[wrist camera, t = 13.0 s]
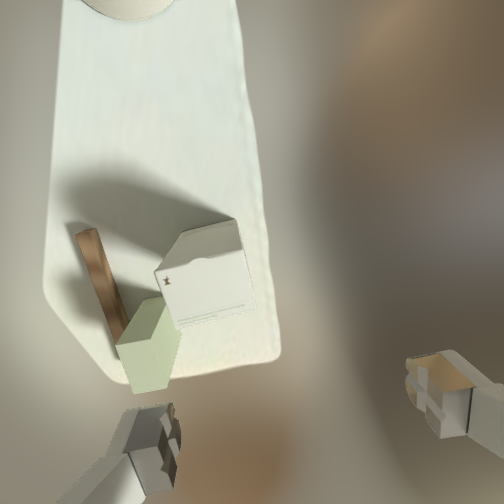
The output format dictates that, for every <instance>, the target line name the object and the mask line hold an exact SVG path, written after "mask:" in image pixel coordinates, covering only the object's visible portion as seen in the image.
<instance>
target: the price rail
mask: <svg viewBox="0 0 504 504" xmlns="http://www.w3.org/2000/svg"><path fill="white" fill-rule="evenodd" d="M75 236H76V238H77V241H78V244H79V246H80V249H81V252H82V255H83V257H84V260H85V263H86V265H87V268H88V271H89V273H90V276H91V279H92V282H93V284H94V287H95V290H96V292H97V295H98V298H99V300H100V303H101V306H102V308H103V311H104V314H105V317H106V319H107V322H108V325H109V327H110V330H111V333H112V335H113V338H114V341H115V344H116V343H117V342H118V340H119V339H120V337H121V335H122V334H123V332H124V331H125V329H126V327H127V326H128V324H129V322H128V319H127V316H126V313H125V311H124V308H123V305H122V302H121V299H120V296H119V293H118V290H117V287H116V284H115V281H114V279H113V276H112V273H111V270H110V267H109V264H108V261H107V258H106V255H105V252H104V249H103V246H102V244H101V241H100V238H99V235H98V232H97V229H91V230H85V231H83V232H80V233H78V234H76V235H75Z"/></svg>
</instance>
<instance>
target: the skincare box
mask: <svg viewBox="0 0 504 504" xmlns="http://www.w3.org/2000/svg"><path fill="white" fill-rule="evenodd" d="M154 275H155V278H156V280H157V283H158V285H159V288H160V291H161V293H162V296H163V298H164V301H165V303H166V306H167V308H168V311H169V313H170V316H171V318H172V321H173V324H174V326H175V329H176V330H179V329H183V328H186V327H190V326H194V325H198V324H202V323H206V322H210V321H214V320H218V319H222V318H226V317H230V316H234V315H238V314H242V313H246V312H250V311H254V310H256V309H257V307H256V302H255V296H254V291H253V286H252V282H251V277H250V273H249V268H248V264H247V260H246V255H245V251H244V247H243V242H242V239H241V235H240V231H239V228H238V224H237V221H236V219H233V220H228V221H224V222H220V223H216V224H212V225H208V226H204V227H200V228H196V229H192V230H188V231H184V232H181V234H180V235H179V237H178V238H177V240H176V241H175V243H174V244H173V246H172V247H171V249H170V250H169V252H168V253H167V255H166V256H165V258H164V259H163V261H162V262H161V264H160V265H159V267H158V268H157V269H156V270H155V271H154Z"/></svg>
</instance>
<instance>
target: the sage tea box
mask: <svg viewBox="0 0 504 504" xmlns="http://www.w3.org/2000/svg"><path fill="white" fill-rule="evenodd" d="M181 336H182V333H181V329H179V330H176V329H175V326H174V324H173V321H172V318H171V316H170V313H169V311H168V308H167V306H166V303H165V301H164V298H163V296H160V297H154V298H149V299H144V300H143V302H142V303H141V305H140V306H139V308H138V310H137V311H136V313H135V314H134V316H133V318H132V319H131V321H130V323H129V324H128V326H127V327H126V329H125V331H124V332H123V334H122V335H121V337H120V339H119V340H118V342H117V343H116V345H115V347H116V349H117V352H118V355H119V357H120V360H121V362H122V365H123V368H124V370H125V373H126V376H127V378H128V381H129V383H130V386H131V389H132V391H133V394H138V393H143V392H149V391H154V390H159V389H165V388H167V386H168V382H169V379H170V375H171V371H172V368H173V364H174V361H175V357H176V354H177V350H178V347H179V343H180V339H181Z"/></svg>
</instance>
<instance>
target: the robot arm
mask: <svg viewBox="0 0 504 504" xmlns="http://www.w3.org/2000/svg"><path fill="white" fill-rule="evenodd" d="M83 1H84V2H85V3H87V4H88V5H89V6H90V7H92V8H93V9H95V10H96V11H98V12H100V13H102V14H104V15H106V16H109V17H112V18H115V19H119V20H126V21H136V20H143V19H146V18H150V17H152V16H154V15H156V14H158V13H160V12H161V11H163V10H164V9H165V8H167V7H168V6H169V5H170V4H171V3H172V2H173V0H83ZM406 368H407V370H408V371H409V372H410V373H409V375H408V376H407V377H406V388H407V392H408V395H409V397H410V399H411V400H412V402H413V403H414V405H415V406H416V407H417V408H418V409H420V410H422V411H423V412H425V413H426V421H427V422H428V423H429V425H430V426H431V427H432V429H433V430H434V431H435V433H436V434H437V435H438V436H439V438H440V439H441V438H448V437H454V436H460V435H467V434H468V436H469V437H470V438H472V439H473V440H475V441H476V442H478V443H480V444H481V445H483V446H484V447H485V448H487V449H489V450H490V451H492V452H493V453H495V454H496V455H498V456H499V457H501V458H502V459H504V385H502V384H500V383H499V384H494V383H493V382H491V381H490V380H489V379H488V378H487V377H485V376H484V375H483V374H482V373H481V372H479V371H478V370H477V369H476V368H475V367H473V366H472V365H471V364H470V363H469V362H468V361H466V360H465V359H464V358H463V357H462V356H460V355H459V354H458V353H457V352H456V351H453V350H447V351H442V352H437V353H432V354H427V355H422V356H417V357H411V358H408V359H407V361H406ZM174 414H175V408H174V405H173V403H171V402H168V403H161V404H155V405H149V406H142V407H139V408H132V409H127V410H126V411H125V412H124V413H123V415H122V417H121V420H120V422H119V424H118V427H117V429H116V431H115V434H114V436H113V438H112V441H111V443H110V445H109V448H108V450H107V452H106V455H105V457H102V458H99V459H98V460H97V461H96V462H95V463H94V464H93V465H92V466H91V467H90V468H89V469H88V470H87V471H86V472H85V473H84V474H83V475H82V476H81V477H80V478H79V479H78V480H77V481H76V482H75V483H74V484H73V485H72V486H71V487H70V488H69V489H68V490H67V491H66V492H65V493H64V494H63V495H62V496H61V497H60V498H59V499H58V500H57V501H56V502H55V503H54V504H142V502H143V501H144V499H145V496H146V495H150V494H155V493H159V492H163V491H168V490H173V488H174V482H175V477H176V472H177V464H176V461H175V458H176V457H177V455H178V454H179V453H180V448H181V427H180V423H179V420H177V419H176V418H174Z"/></svg>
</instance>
